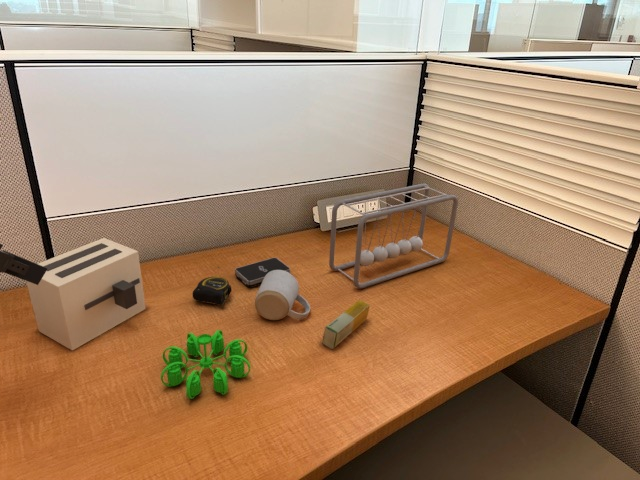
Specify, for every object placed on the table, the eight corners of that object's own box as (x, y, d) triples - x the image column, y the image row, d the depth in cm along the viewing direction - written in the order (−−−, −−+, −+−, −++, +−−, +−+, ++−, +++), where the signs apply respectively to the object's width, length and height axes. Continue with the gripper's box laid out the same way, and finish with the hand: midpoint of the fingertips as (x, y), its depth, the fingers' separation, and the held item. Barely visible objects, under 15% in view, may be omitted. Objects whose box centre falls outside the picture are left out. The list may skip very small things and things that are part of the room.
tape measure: (191, 304, 98) (190, 288, 97) (207, 288, 104) (206, 273, 103) (221, 310, 97) (221, 294, 95) (236, 293, 103) (235, 278, 101)
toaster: (38, 331, 88) (22, 268, 82) (113, 293, 100) (103, 236, 95) (72, 351, 83) (58, 286, 78) (146, 309, 96) (138, 250, 90)
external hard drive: (234, 276, 109) (234, 268, 108) (275, 264, 115) (275, 256, 114) (249, 289, 104) (248, 281, 103) (291, 276, 110) (291, 268, 109)
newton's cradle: (354, 291, 105) (361, 217, 98) (327, 271, 113) (331, 201, 105) (448, 260, 121) (460, 194, 113) (419, 244, 129) (428, 181, 121)
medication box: (333, 350, 87) (336, 333, 85) (321, 343, 88) (323, 326, 86) (367, 319, 95) (370, 303, 93) (355, 313, 97) (358, 297, 95)
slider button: (115, 303, 88) (111, 285, 87) (125, 298, 90) (123, 279, 88) (126, 309, 87) (123, 290, 85) (137, 303, 89) (134, 284, 87)
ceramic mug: (252, 320, 94) (252, 286, 90) (263, 298, 101) (263, 266, 98) (305, 327, 93) (307, 294, 89) (312, 305, 100) (314, 272, 97)
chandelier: (180, 419, 70) (176, 383, 68) (147, 363, 81) (142, 329, 78) (268, 381, 79) (268, 347, 76) (227, 334, 90) (226, 303, 87)
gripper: (-190, 219, 53) (1, 285, 74) (-141, 250, 48) (52, 312, 68) (-147, 162, 55) (28, 242, 76) (-94, 186, 49) (80, 265, 70)
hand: (39, 275), depth 72 cm, fingers closed
